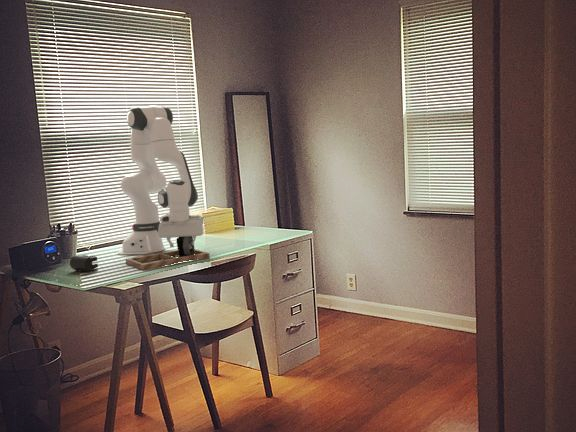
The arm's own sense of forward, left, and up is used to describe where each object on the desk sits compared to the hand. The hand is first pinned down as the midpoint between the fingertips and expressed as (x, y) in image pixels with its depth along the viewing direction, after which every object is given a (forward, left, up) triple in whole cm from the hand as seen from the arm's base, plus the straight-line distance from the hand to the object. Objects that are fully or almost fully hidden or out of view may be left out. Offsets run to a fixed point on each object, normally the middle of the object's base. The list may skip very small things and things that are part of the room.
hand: (182, 246), depth 281 cm
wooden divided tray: (-6, -4, -6) cm, 9 cm away
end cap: (-40, -15, -6) cm, 43 cm away
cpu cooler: (+2, 0, -5) cm, 6 cm away
